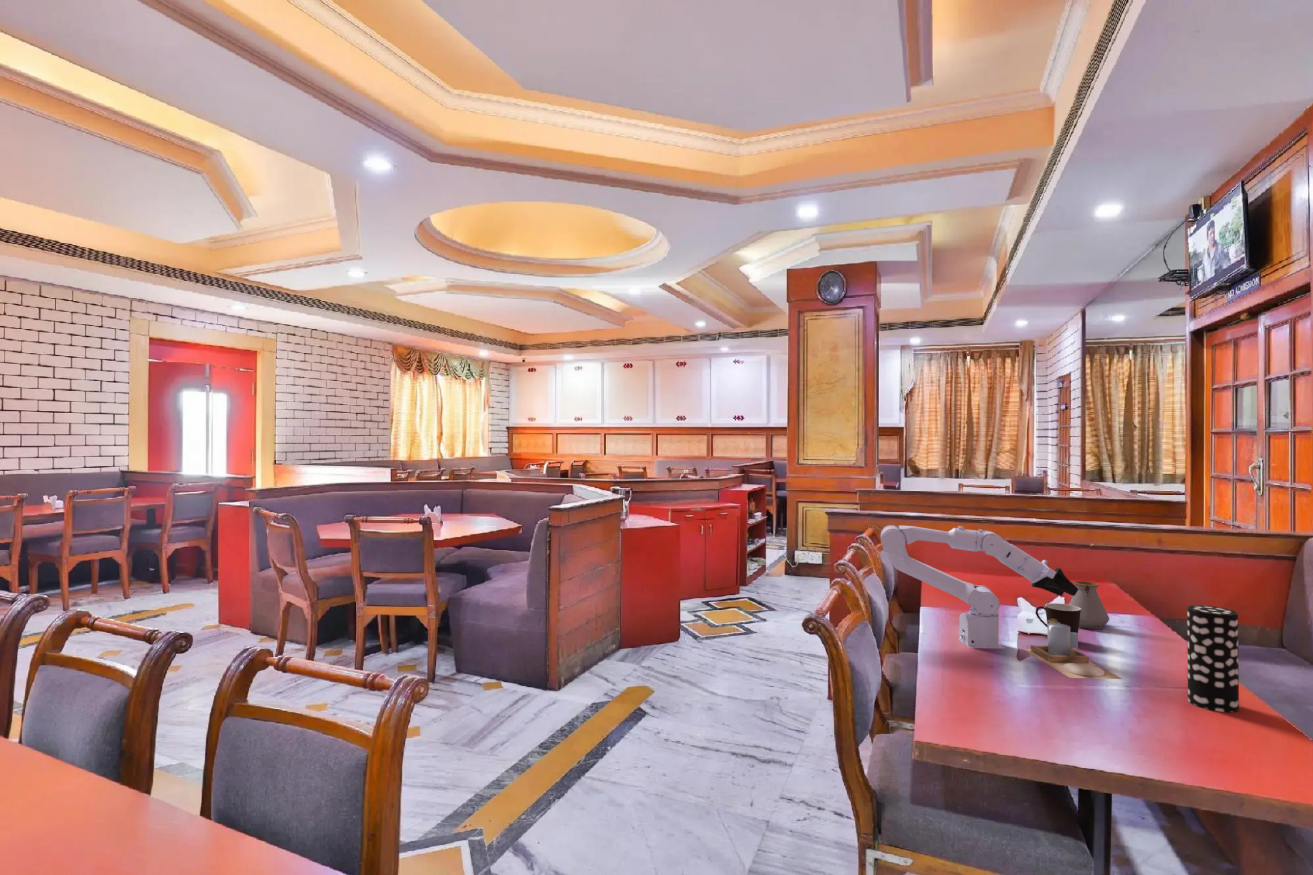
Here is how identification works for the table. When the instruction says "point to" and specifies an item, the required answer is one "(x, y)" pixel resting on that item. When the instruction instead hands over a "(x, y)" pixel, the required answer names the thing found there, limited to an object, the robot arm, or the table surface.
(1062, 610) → the coffee mug
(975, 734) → the table surface
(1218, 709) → the white-spotted black cylinder
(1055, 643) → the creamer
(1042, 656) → the jug board
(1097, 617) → the coffee pot
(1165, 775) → the table surface
